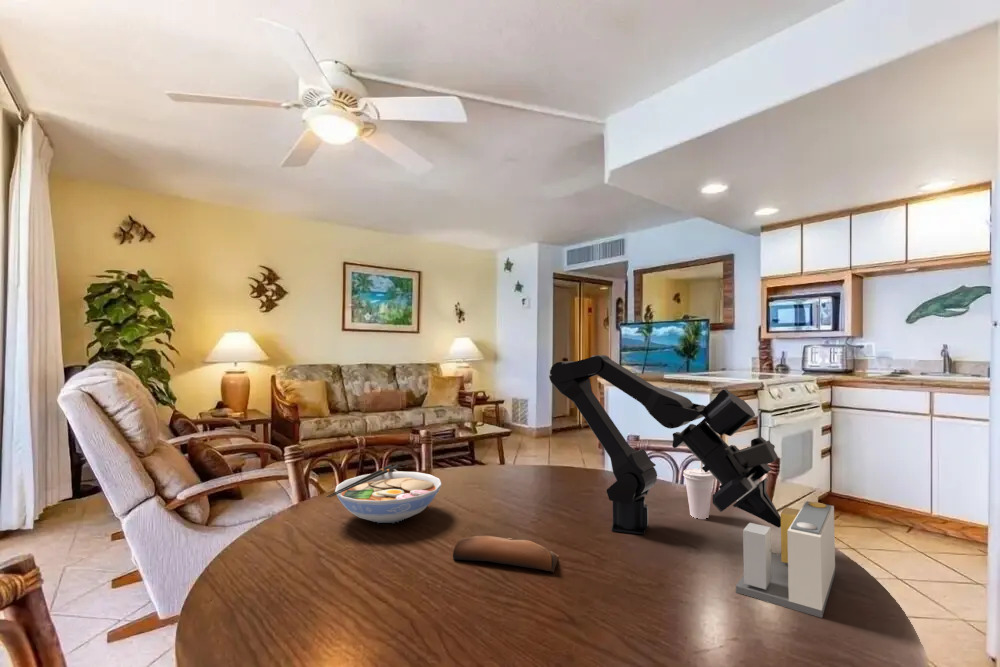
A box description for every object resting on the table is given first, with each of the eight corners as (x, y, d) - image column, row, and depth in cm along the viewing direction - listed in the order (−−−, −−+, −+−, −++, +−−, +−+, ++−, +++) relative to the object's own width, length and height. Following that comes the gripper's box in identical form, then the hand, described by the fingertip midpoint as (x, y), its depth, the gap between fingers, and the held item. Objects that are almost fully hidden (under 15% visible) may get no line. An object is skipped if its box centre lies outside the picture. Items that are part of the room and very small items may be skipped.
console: (736, 592, 75) (734, 516, 75) (761, 555, 88) (759, 490, 88) (822, 617, 68) (820, 533, 68) (835, 573, 81) (833, 502, 81)
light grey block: (743, 583, 74) (743, 530, 74) (750, 573, 77) (749, 522, 78) (765, 589, 72) (765, 534, 73) (771, 579, 75) (770, 527, 76)
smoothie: (718, 522, 104) (717, 456, 104) (686, 520, 105) (685, 454, 105) (711, 512, 110) (710, 449, 110) (681, 510, 111) (680, 448, 112)
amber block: (781, 561, 82) (780, 513, 82) (785, 553, 85) (785, 507, 85) (802, 566, 80) (801, 517, 80) (806, 558, 83) (805, 510, 83)
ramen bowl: (405, 547, 92) (405, 503, 92) (306, 532, 99) (306, 491, 100) (460, 506, 115) (460, 471, 115) (377, 496, 123) (377, 463, 123)
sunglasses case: (562, 553, 88) (558, 528, 85) (556, 589, 83) (551, 564, 80) (469, 542, 94) (462, 518, 91) (457, 575, 88) (449, 550, 85)
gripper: (731, 431, 80) (812, 513, 73) (757, 417, 94) (827, 485, 87) (683, 472, 85) (755, 553, 78) (715, 453, 99) (778, 520, 92)
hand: (781, 525), depth 83 cm, fingers closed, pressing on amber block
